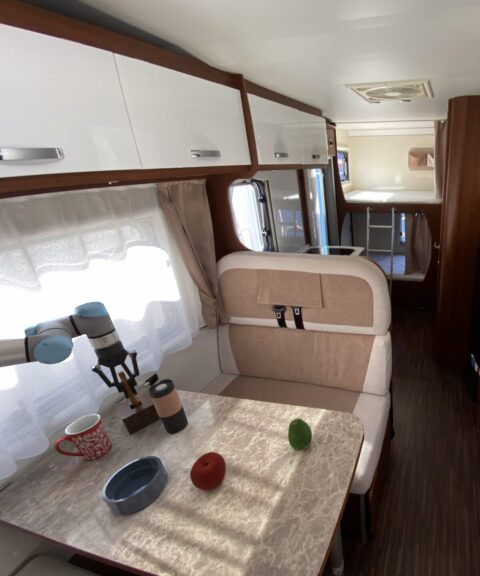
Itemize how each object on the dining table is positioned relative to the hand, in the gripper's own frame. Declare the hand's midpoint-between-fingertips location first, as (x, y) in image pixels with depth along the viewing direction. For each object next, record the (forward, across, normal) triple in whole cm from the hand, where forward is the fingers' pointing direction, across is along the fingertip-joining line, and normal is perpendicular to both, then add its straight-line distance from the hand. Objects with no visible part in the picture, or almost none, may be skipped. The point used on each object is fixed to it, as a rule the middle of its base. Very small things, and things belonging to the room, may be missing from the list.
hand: (131, 395), depth 116 cm
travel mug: (+13, +8, -15) cm, 21 cm away
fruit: (+13, +34, -61) cm, 71 cm away
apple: (+13, +8, -50) cm, 52 cm away
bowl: (+13, -8, -35) cm, 38 cm away
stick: (+11, 0, 0) cm, 11 cm away
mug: (+13, -16, -5) cm, 21 cm away
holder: (+13, 0, 0) cm, 13 cm away
